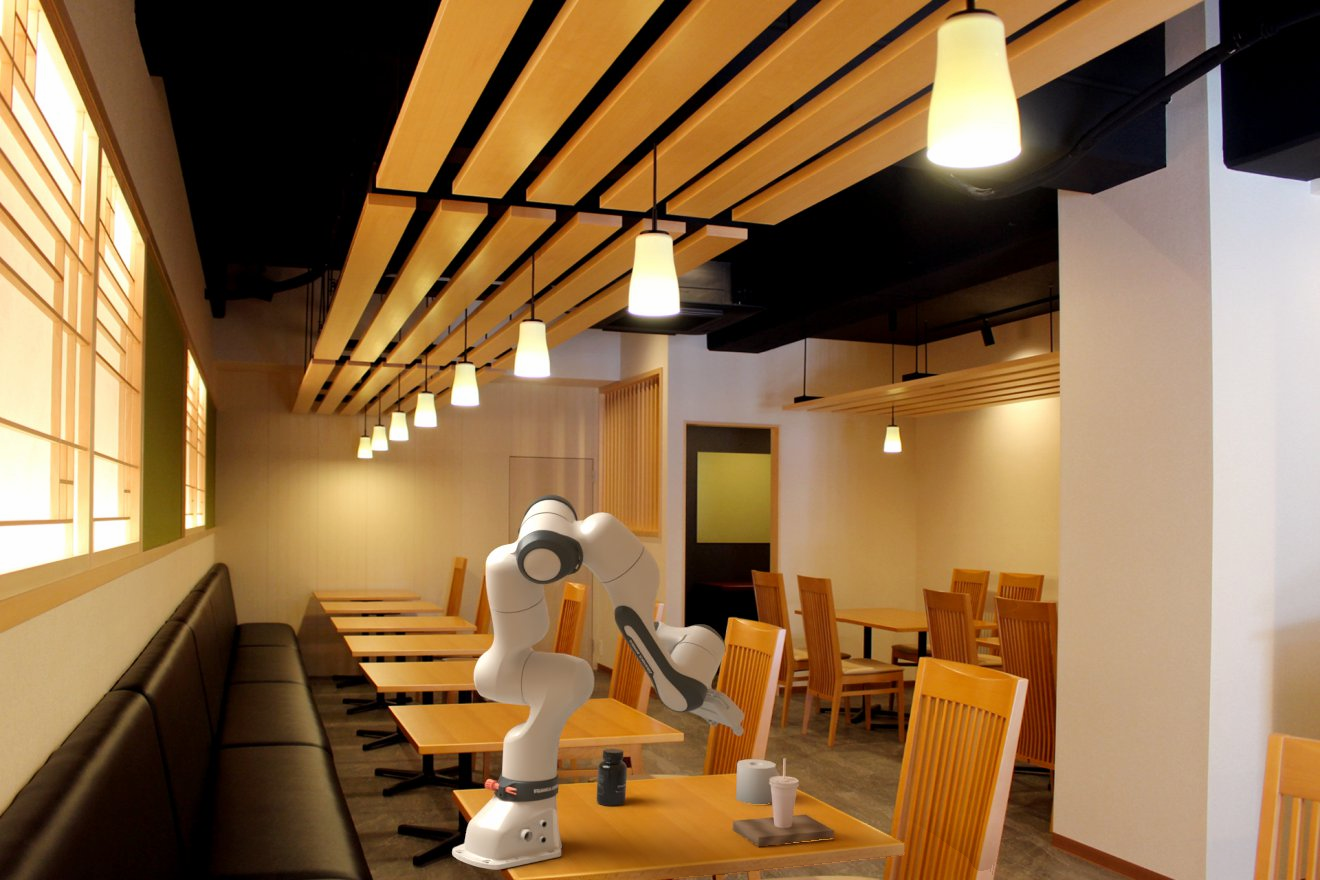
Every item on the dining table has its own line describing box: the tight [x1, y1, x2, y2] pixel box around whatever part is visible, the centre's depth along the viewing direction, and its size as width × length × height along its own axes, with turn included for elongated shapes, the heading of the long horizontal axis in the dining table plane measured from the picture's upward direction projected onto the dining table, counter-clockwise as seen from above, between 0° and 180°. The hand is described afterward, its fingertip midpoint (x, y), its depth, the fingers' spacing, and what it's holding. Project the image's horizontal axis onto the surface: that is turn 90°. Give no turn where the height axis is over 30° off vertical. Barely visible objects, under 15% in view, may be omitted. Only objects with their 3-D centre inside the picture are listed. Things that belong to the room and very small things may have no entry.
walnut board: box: [732, 814, 835, 848], centre depth 227 cm, size 18×12×2 cm, turn 112°
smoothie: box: [769, 757, 800, 828], centre depth 227 cm, size 6×6×14 cm
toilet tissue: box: [735, 758, 782, 804], centre depth 255 cm, size 9×13×9 cm
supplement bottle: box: [596, 748, 628, 807], centre depth 247 cm, size 7×7×12 cm
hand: (727, 728), depth 225 cm, fingers open, 8 cm apart
